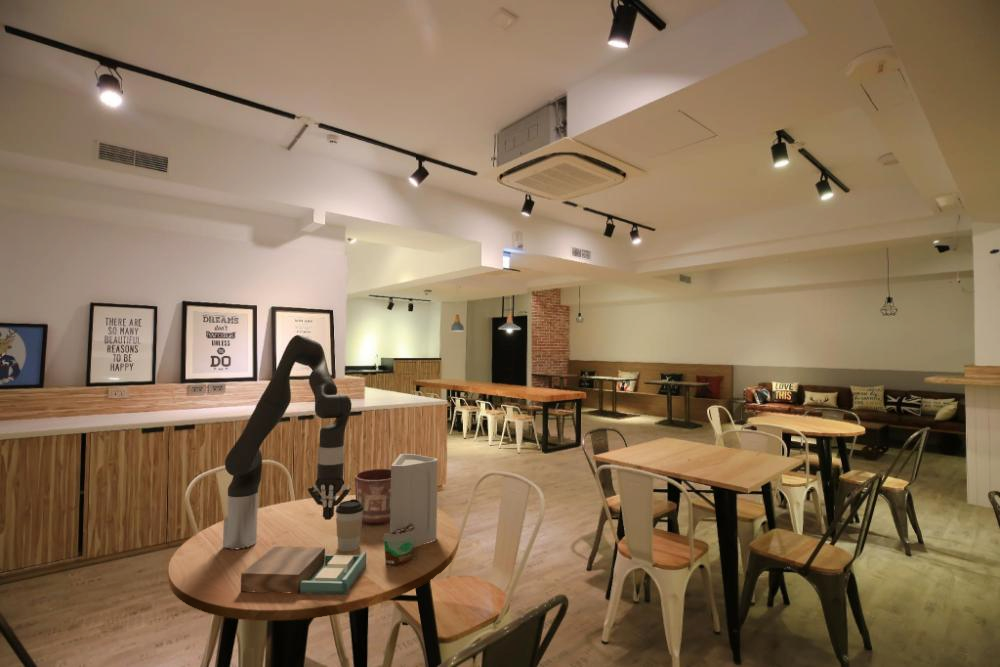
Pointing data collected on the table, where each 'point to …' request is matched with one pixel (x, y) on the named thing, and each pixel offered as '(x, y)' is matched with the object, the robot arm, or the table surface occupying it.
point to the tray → (335, 586)
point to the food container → (399, 545)
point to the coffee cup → (349, 524)
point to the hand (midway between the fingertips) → (328, 518)
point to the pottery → (374, 495)
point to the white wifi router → (414, 496)
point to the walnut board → (283, 569)
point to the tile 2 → (341, 562)
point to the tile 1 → (330, 574)
